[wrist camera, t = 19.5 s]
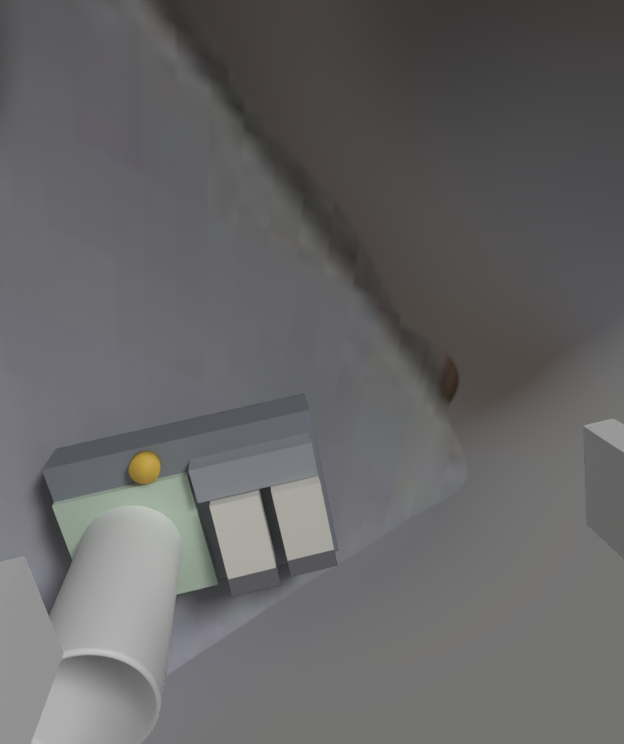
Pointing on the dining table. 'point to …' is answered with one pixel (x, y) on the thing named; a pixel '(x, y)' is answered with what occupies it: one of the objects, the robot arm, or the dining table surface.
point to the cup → (113, 630)
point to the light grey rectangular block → (245, 542)
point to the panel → (179, 450)
